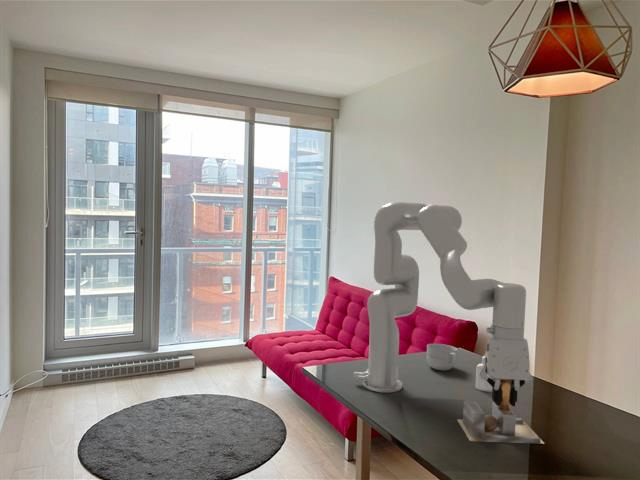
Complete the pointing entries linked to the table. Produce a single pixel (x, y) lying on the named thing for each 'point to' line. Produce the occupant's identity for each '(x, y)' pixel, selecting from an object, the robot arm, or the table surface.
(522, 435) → the board
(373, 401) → the table surface
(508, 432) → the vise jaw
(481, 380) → the eye dropper bottle
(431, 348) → the teacup
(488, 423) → the walnut
